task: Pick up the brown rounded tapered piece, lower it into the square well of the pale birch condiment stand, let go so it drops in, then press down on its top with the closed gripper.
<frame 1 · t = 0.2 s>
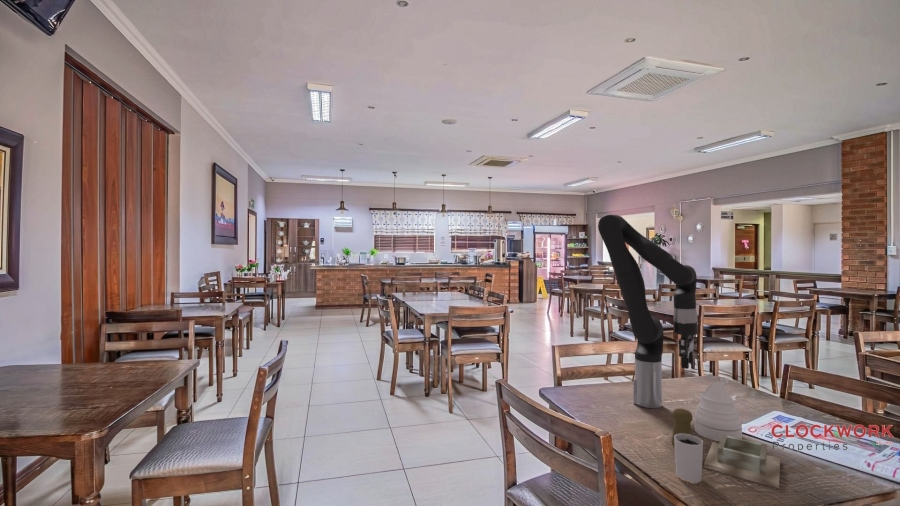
hand: (687, 365, 151), 17 cm above the table, tool pointing down, fingers open, 8 cm apart
white cup: (688, 478, 109), on the table
honey pot: (717, 433, 135), on the table
condiment stand: (742, 465, 115), on the table
brown rounded tapered piece: (682, 447, 126), on the table
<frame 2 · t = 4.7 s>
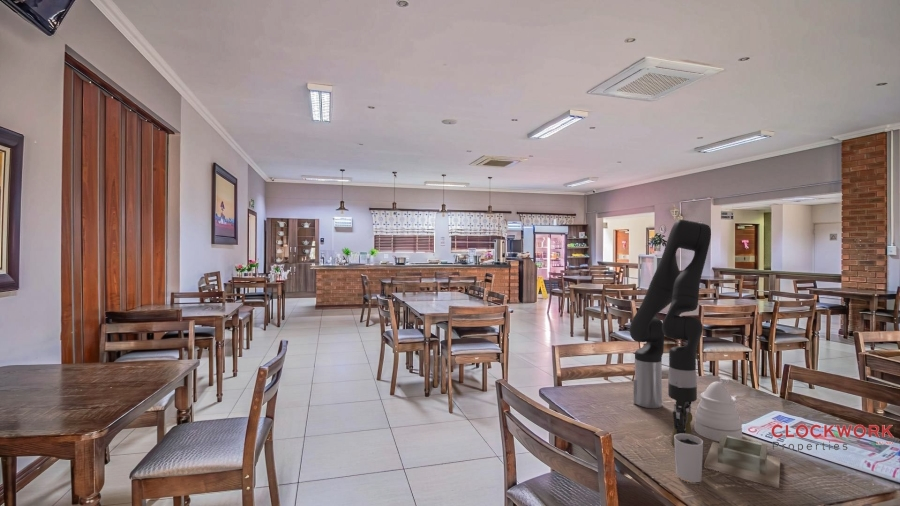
hand: (682, 438, 126), 2 cm above the table, tool pointing down, fingers closed on brown rounded tapered piece, 4 cm apart
brown rounded tapered piece: (682, 447, 126), on the table, touching gripper
everything else where it was.
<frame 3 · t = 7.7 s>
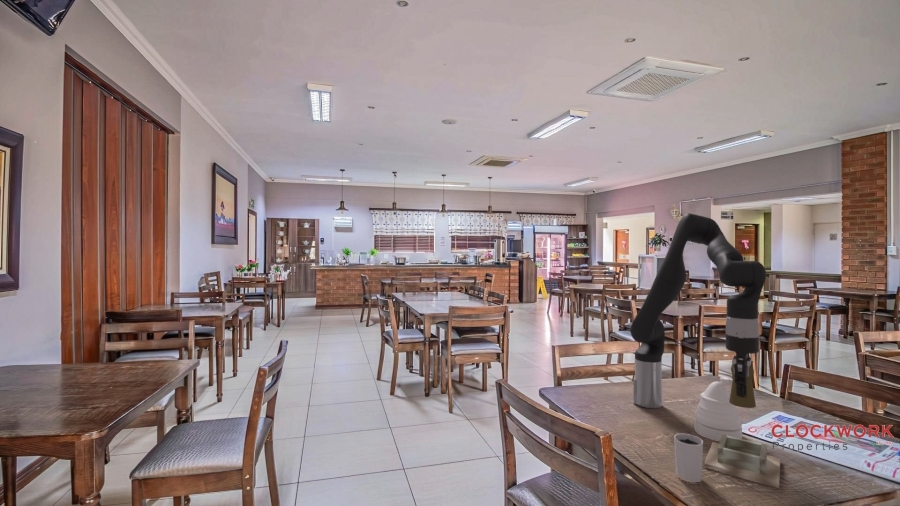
hand: (742, 395, 115), 19 cm above the table, tool pointing down, fingers closed on brown rounded tapered piece, 4 cm apart
brown rounded tapered piece: (742, 404, 115), point 17 cm above the table, touching gripper
everything else where it was.
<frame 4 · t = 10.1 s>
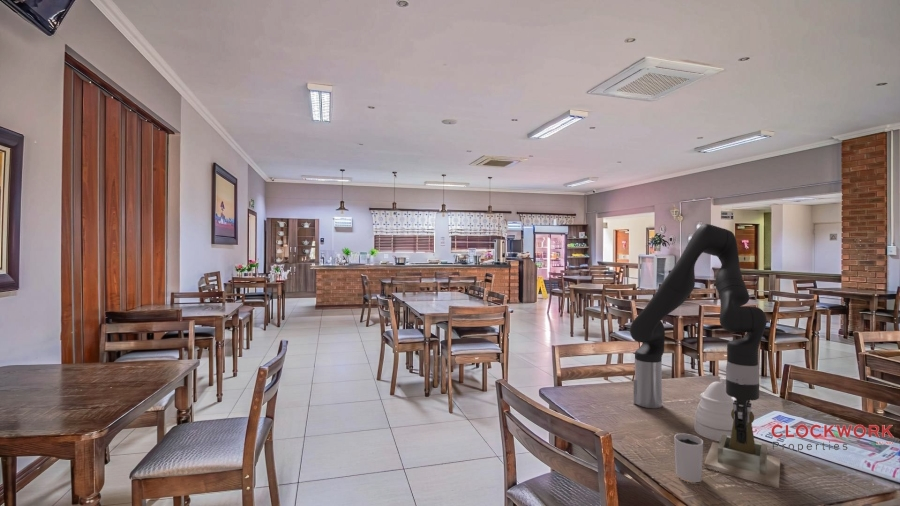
hand: (742, 440, 115), 7 cm above the table, tool pointing down, fingers closed on brown rounded tapered piece, 4 cm apart
brown rounded tapered piece: (742, 449, 115), point 4 cm above the table, touching gripper
everything else where it was.
when the fingers open (7 cm above the table, at t = 10.7 s): brown rounded tapered piece drops 3 cm, resting on condiment stand.
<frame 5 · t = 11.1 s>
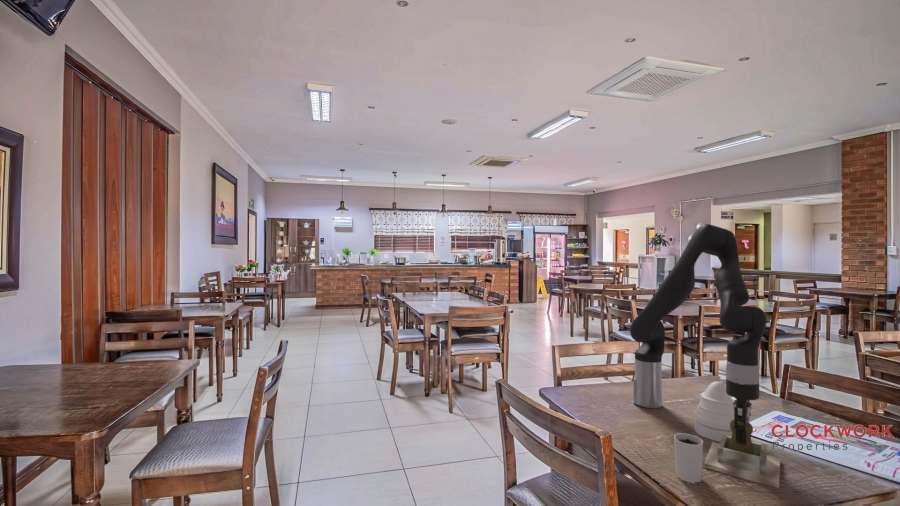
hand: (742, 438, 115), 7 cm above the table, tool pointing down, fingers open, 7 cm apart
brown rounded tapered piece: (741, 461, 115), point 1 cm above the table, touching condiment stand
everything else where it was.
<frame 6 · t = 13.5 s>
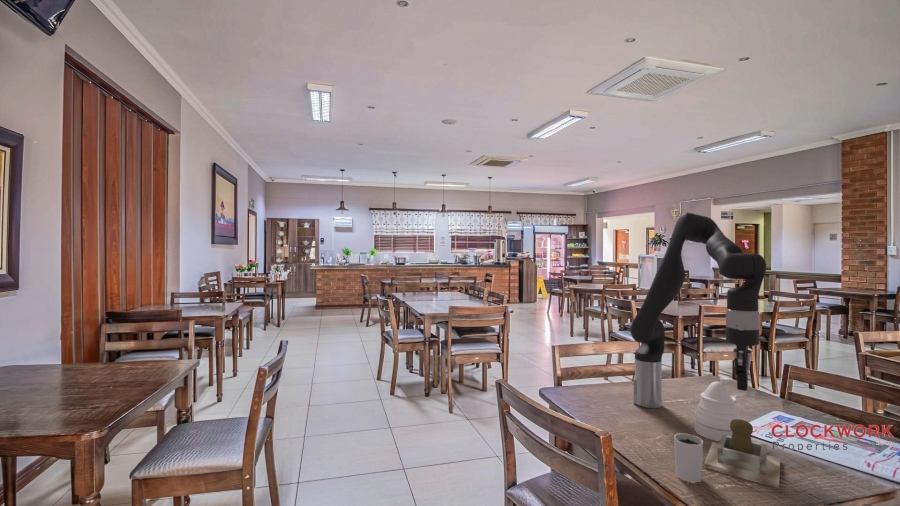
hand: (742, 388, 115), 21 cm above the table, tool pointing down, fingers closed
nothing on the table moved.
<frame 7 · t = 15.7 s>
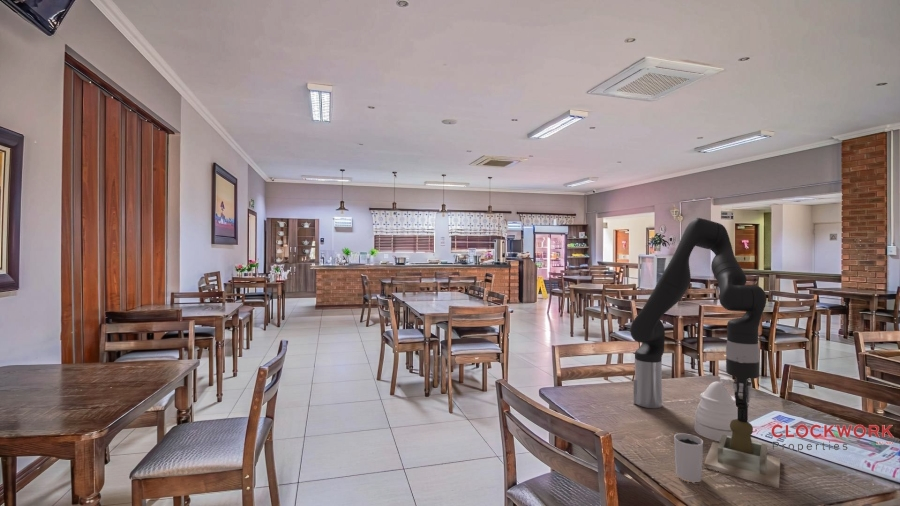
hand: (742, 420, 115), 12 cm above the table, tool pointing down, fingers closed
brown rounded tapered piece: (741, 461, 115), point 1 cm above the table, touching condiment stand, gripper
everything else where it was.
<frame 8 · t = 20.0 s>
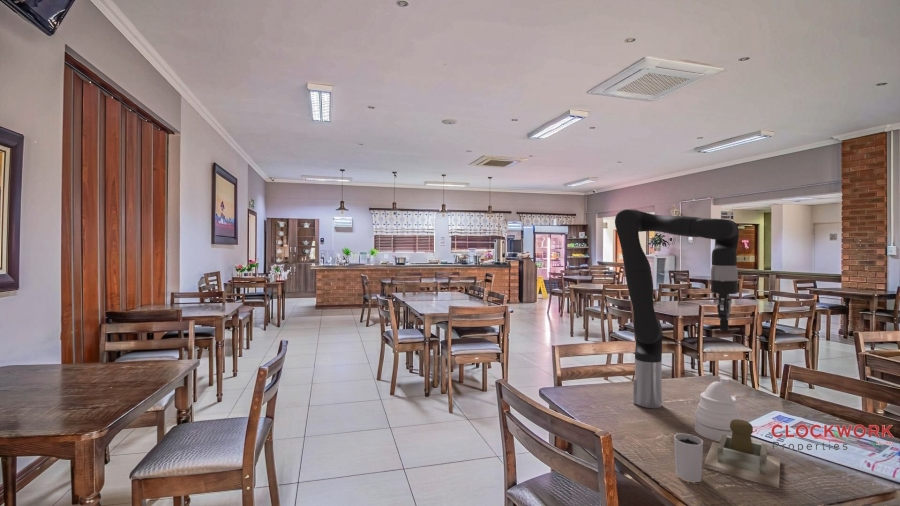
hand: (724, 330, 140), 32 cm above the table, tool pointing down, fingers closed
brown rounded tapered piece: (741, 461, 115), point 1 cm above the table, touching condiment stand
everything else where it was.
at the end: brown rounded tapered piece 0.4 cm off-centre on the condiment stand, point 1.0 cm above the condiment stand's base; brown rounded tapered piece tilted 0°; the gripper is holding nothing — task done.
